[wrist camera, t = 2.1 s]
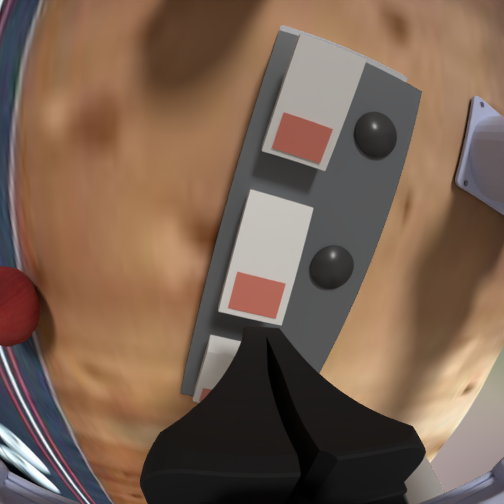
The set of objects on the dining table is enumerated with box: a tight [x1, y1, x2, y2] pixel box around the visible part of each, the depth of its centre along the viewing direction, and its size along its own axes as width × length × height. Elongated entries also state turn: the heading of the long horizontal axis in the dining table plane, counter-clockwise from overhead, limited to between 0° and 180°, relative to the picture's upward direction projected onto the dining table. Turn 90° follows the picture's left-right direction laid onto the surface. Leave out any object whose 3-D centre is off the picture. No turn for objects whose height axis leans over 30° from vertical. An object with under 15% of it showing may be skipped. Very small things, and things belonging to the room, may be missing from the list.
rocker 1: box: [193, 335, 241, 403], centre depth 17 cm, size 3×6×1 cm, turn 164°
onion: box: [0, 266, 40, 347], centre depth 16 cm, size 6×6×8 cm
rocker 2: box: [262, 34, 367, 171], centre depth 13 cm, size 3×6×1 cm, turn 164°
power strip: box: [181, 25, 422, 396], centre depth 18 cm, size 9×27×4 cm, turn 164°
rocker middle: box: [218, 189, 313, 326], centre depth 15 cm, size 3×6×1 cm, turn 164°
